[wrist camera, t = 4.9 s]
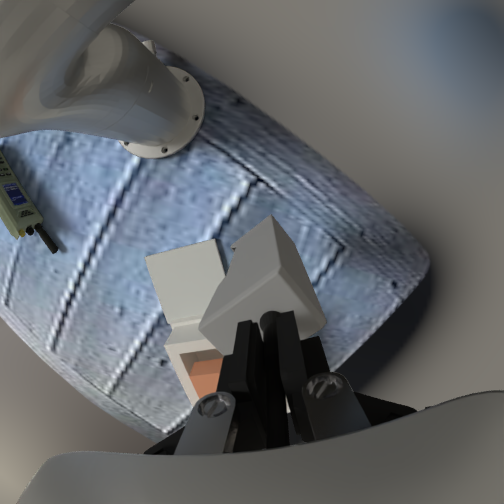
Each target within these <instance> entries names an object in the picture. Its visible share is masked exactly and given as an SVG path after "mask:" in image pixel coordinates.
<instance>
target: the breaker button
mask: <svg viewBox="0 0 504 504" xmlns="http://www.w3.org/2000/svg"><path fill="white" fill-rule="evenodd" d="M222 361H223V358H220V359H213V360H207V361H200V362H194V364H193V367H192V370H191V372H190V375H189V378H190V380H191V382H192V384H193V386H194V388H195V391H196V393H197V395H198V397H199V399H200V398H202V397H204V396H205V395H207V394H210V393H214V392H216V389H217V384H218V380H219V375H220V370H221V365H222Z"/></svg>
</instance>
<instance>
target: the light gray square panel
mask: <svg viewBox="0 0 504 504" xmlns="http://www.w3.org/2000/svg"><path fill="white" fill-rule="evenodd" d="M144 258H145V261H146V264H147V267H148V270H149V273H150V276H151V279H152V282H153V285H154V287H155V290H156V293H157V296H158V298H159V301H160V304H161V307H162V309H163V312H164V314H165V317H166V320H167V322H168V324H169V323H171V322H172V321H173V319H179V318H184V317H190V316H195V315H200V314H204V313H205V311H206V309H207V307H208V305H209V303H210V301H211V299H212V297H213V295H214V293H215V291H216V289H217V287H218V285H219V284H220V283H221V281H222V280H223V279H224V278H225V276H226V275H225V271H224V268H223V264H222V261H221V257H220V254H219V250H218V247H217V243H216V240H215V239H211V240H207V241H203V242H199V243H195V244H191V245H188V246H184V247H180V248H176V249H172V250H168V251H164V252H161V253H157V254H153V255H149V256H146V257H144Z"/></svg>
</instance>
